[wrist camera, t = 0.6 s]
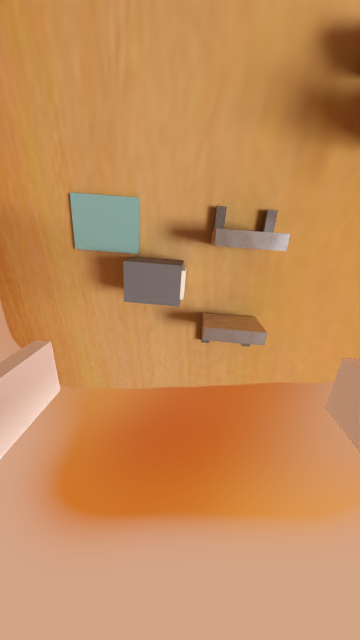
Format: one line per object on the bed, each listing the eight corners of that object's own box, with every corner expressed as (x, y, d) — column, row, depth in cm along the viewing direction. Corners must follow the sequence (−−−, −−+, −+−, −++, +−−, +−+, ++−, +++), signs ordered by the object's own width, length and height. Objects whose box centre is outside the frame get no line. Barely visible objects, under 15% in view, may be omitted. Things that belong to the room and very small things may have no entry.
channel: (214, 207, 29) (220, 199, 23) (276, 211, 28) (297, 205, 23) (199, 339, 35) (200, 358, 30) (249, 343, 35) (260, 363, 30)
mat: (71, 193, 29) (69, 192, 29) (139, 198, 29) (138, 197, 28) (76, 248, 32) (75, 248, 31) (138, 253, 31) (138, 253, 31)
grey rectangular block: (135, 256, 32) (123, 261, 26) (186, 260, 31) (185, 266, 26) (135, 290, 33) (124, 301, 28) (184, 294, 33) (182, 306, 28)
